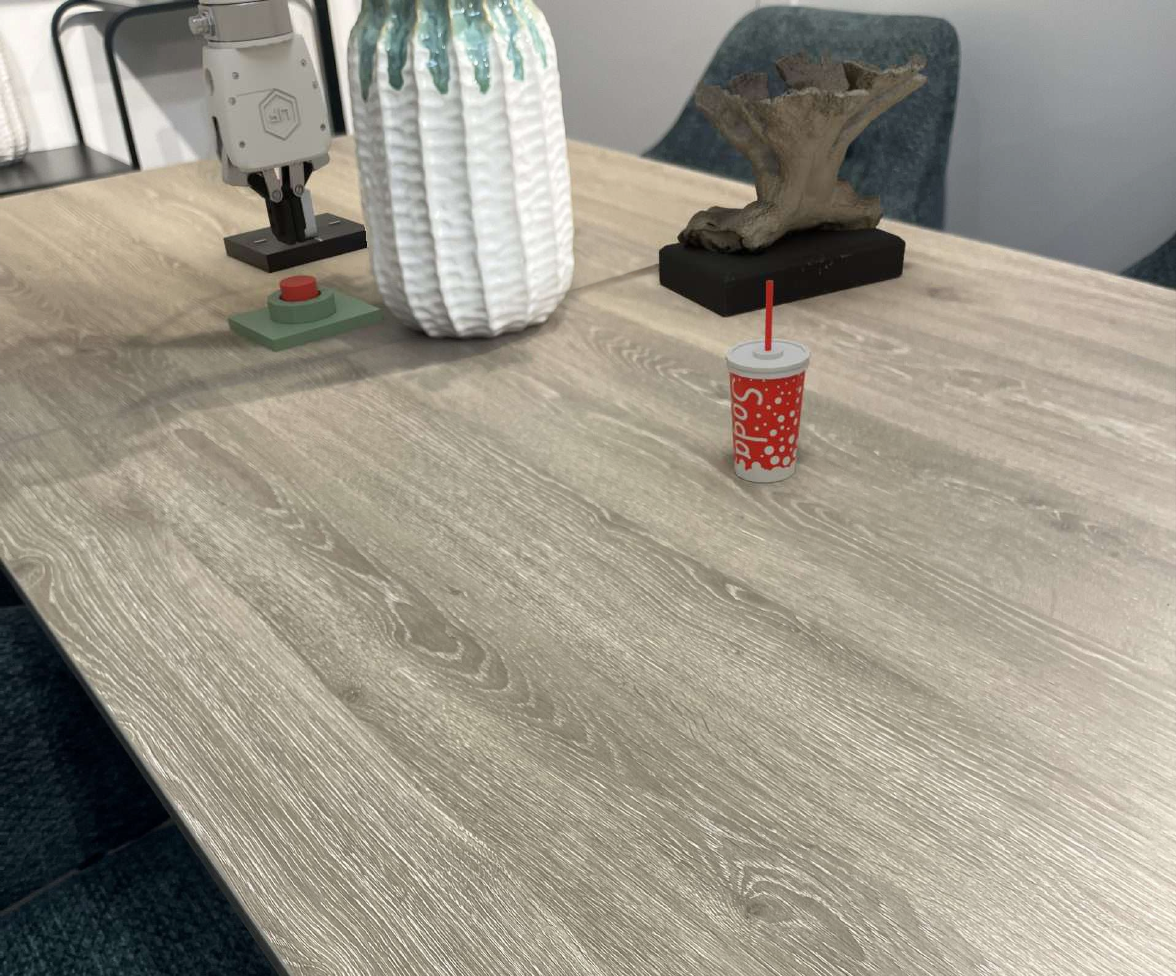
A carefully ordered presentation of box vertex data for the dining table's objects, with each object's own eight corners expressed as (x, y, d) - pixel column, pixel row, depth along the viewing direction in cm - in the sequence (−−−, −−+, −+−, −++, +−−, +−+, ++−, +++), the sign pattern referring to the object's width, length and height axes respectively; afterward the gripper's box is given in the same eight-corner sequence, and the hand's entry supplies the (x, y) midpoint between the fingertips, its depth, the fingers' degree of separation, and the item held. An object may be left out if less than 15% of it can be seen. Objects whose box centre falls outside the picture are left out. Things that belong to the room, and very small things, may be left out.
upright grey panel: (318, 236, 147) (309, 187, 144) (305, 239, 147) (296, 190, 143) (290, 225, 152) (281, 178, 149) (278, 228, 151) (268, 180, 148)
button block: (278, 362, 123) (269, 320, 121) (232, 339, 130) (222, 299, 127) (384, 331, 129) (377, 290, 126) (335, 309, 135) (328, 270, 133)
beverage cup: (711, 463, 99) (711, 277, 90) (781, 447, 100) (788, 263, 92) (746, 493, 94) (750, 300, 86) (820, 476, 96) (830, 285, 87)
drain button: (293, 307, 125) (289, 288, 124) (276, 299, 127) (272, 281, 126) (325, 298, 127) (322, 279, 125) (308, 290, 129) (304, 272, 128)
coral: (854, 241, 143) (869, 21, 130) (968, 287, 128) (997, 43, 115) (655, 281, 136) (649, 52, 123) (751, 335, 121) (756, 81, 108)
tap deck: (272, 282, 144) (266, 253, 142) (228, 264, 151) (222, 236, 150) (378, 254, 151) (373, 226, 149) (331, 237, 158) (326, 210, 156)
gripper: (187, 39, 106) (238, 267, 118) (342, 13, 113) (377, 230, 125) (151, 33, 111) (204, 252, 123) (302, 8, 118) (339, 218, 129)
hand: (291, 240), depth 124 cm, fingers closed
